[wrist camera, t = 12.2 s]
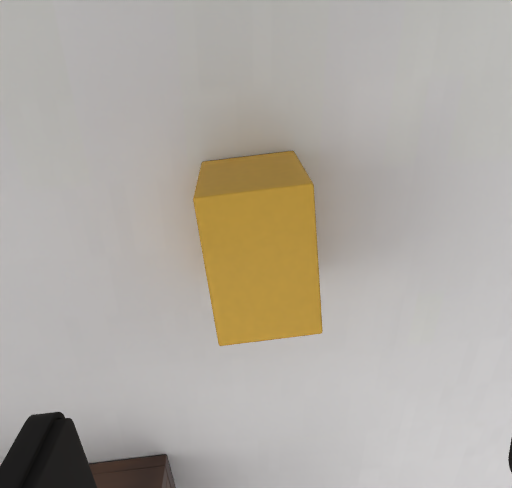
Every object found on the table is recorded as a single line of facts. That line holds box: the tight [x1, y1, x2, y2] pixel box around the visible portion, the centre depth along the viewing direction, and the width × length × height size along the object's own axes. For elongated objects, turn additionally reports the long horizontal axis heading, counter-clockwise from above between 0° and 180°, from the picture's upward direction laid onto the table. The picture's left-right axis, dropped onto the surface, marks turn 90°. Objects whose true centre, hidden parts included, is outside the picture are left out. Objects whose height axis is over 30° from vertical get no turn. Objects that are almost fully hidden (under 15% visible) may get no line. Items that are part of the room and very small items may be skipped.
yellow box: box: [193, 151, 322, 346], centre depth 18 cm, size 6×4×5 cm, turn 6°
